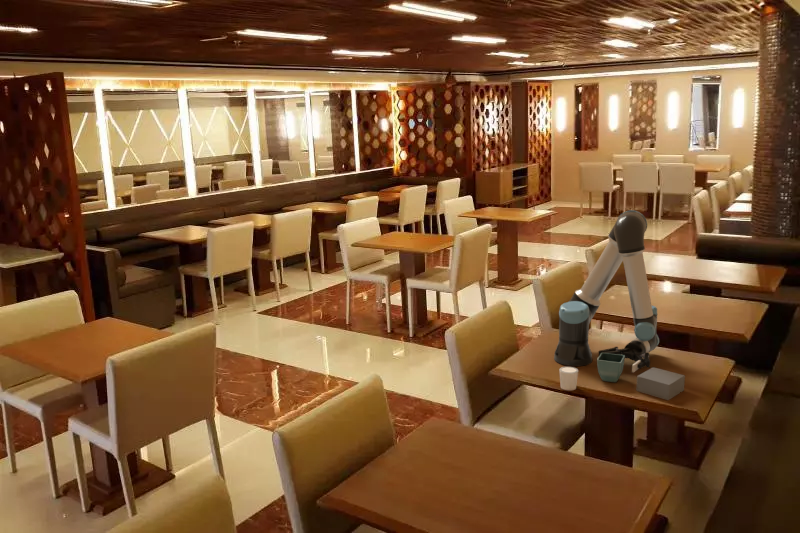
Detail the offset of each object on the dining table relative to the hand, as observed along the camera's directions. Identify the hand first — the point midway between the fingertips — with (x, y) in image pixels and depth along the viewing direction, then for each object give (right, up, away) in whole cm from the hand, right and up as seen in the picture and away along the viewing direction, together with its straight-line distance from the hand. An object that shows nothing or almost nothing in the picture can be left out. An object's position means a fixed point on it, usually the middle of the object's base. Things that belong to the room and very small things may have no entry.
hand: (615, 364), depth 253 cm
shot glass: (-19, -8, -5) cm, 21 cm away
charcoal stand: (+13, -8, -10) cm, 18 cm away
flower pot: (-2, -6, +1) cm, 6 cm away
